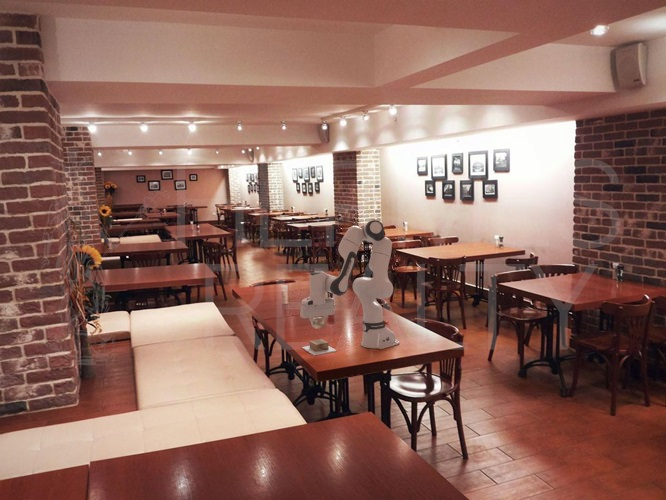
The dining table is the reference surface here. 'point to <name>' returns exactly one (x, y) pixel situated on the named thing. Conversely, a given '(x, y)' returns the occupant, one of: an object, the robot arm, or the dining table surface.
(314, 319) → the ash cube
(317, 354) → the white flat slab
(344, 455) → the dining table surface
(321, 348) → the walnut base
